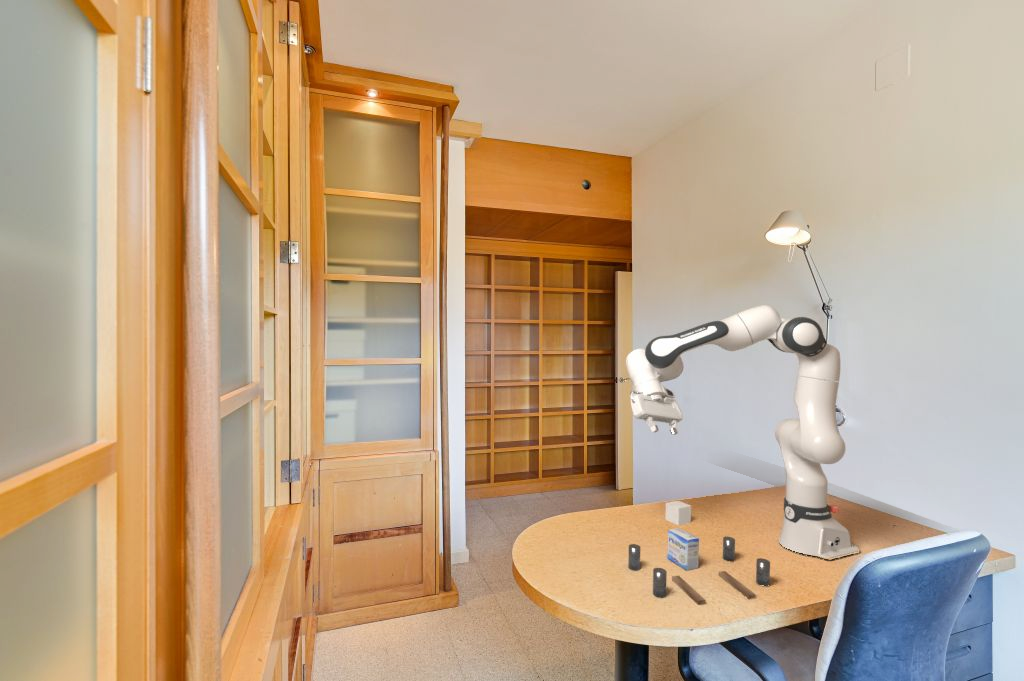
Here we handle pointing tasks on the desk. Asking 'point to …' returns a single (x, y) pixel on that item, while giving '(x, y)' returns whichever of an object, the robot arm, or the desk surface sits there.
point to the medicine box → (683, 549)
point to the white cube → (678, 512)
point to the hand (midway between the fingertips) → (665, 432)
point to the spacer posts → (728, 555)
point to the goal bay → (723, 575)
